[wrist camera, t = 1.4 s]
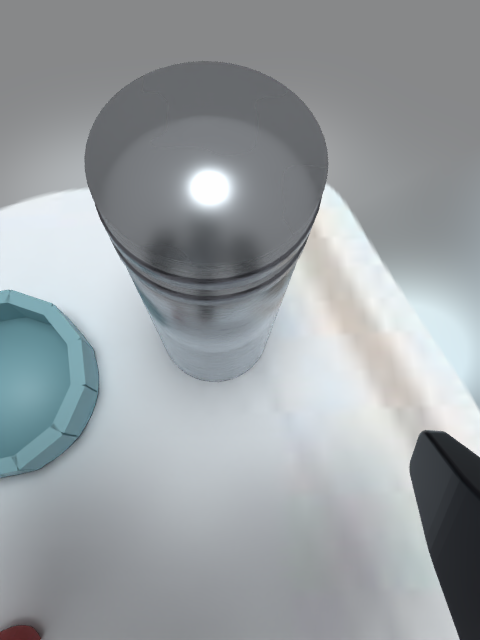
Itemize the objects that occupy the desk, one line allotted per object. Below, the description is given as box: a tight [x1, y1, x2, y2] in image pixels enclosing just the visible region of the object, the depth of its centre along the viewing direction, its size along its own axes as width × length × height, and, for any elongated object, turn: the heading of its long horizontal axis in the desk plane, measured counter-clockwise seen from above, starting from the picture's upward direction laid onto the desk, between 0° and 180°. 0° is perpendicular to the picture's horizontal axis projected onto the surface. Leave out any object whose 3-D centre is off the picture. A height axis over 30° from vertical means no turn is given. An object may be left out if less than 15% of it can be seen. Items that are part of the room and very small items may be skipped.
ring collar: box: [0, 290, 99, 478], centre depth 19 cm, size 8×8×2 cm
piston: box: [85, 61, 328, 381], centre depth 15 cm, size 5×5×13 cm
